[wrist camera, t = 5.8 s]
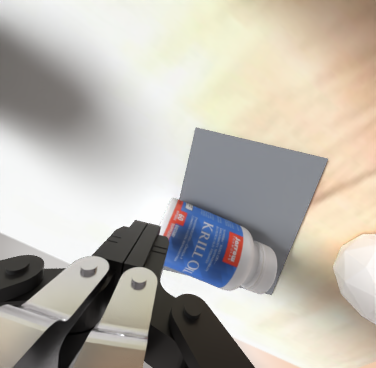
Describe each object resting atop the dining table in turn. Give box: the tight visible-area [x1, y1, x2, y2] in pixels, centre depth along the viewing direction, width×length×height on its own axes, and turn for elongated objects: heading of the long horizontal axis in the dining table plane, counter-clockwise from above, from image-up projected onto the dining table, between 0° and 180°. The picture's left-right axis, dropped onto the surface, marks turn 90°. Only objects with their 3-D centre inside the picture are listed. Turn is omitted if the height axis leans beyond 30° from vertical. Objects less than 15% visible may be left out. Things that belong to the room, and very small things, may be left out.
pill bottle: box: [159, 198, 277, 294], centre depth 15 cm, size 6×5×10 cm
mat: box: [163, 128, 328, 295], centre depth 18 cm, size 15×12×1 cm
